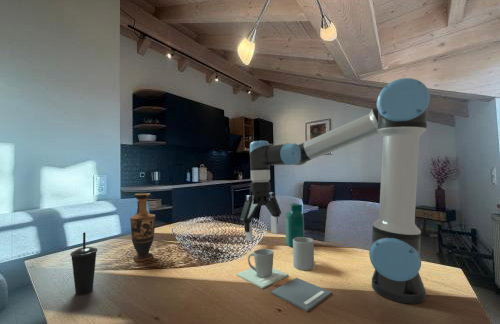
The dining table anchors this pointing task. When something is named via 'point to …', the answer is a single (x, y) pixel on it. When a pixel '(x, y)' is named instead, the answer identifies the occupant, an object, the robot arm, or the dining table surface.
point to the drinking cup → (83, 268)
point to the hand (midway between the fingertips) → (262, 236)
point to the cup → (262, 262)
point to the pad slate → (301, 293)
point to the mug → (303, 253)
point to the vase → (142, 229)
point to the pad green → (261, 281)
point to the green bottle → (294, 223)
